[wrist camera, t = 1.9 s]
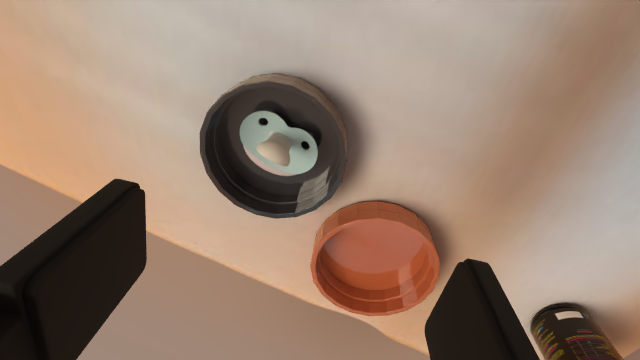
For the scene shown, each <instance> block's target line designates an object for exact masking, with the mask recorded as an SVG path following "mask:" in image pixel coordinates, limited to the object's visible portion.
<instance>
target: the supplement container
mask: <svg viewBox="0 0 640 360" xmlns="http://www.w3.org/2000/svg"><path fill="white" fill-rule="evenodd" d="M530 329H531V334H532V336H533V338H534V340H535V342H536V344H537V346H538V348H539V350H540V352H541V353H542V355H543V357H544V359H545V360H623V358H622V357H621V356H620V354H619V353H618V351H617V350H616V349H615V347H614V346H613V345H612V343H611V342H610V340H609V339H608V338H607V336H606V335H605V334H604V332H603V331H602V330H601V328H600V327H599V325H598V324H597V323H596V321H595V320H594V319H593V317H592V316H591V314H590V313H589V312H587V311H586V310H584V309H583V308H581V307H578V306H575V305H570V304H558V305H553V306H550V307H547V308H545V309H543V310H541V311H540V312H538V313H537V314H536V315H535V317H534V318H533V320H532V322H531V326H530Z"/></svg>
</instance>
